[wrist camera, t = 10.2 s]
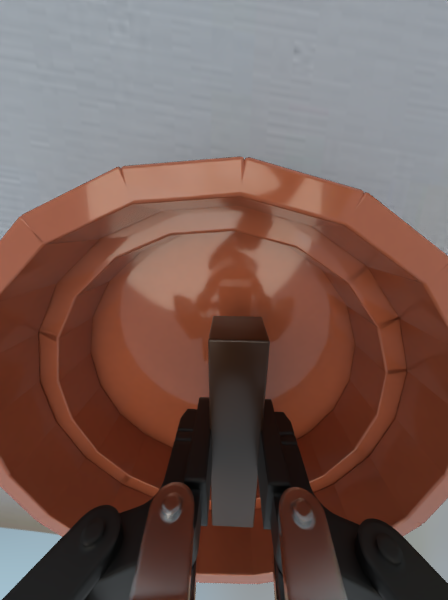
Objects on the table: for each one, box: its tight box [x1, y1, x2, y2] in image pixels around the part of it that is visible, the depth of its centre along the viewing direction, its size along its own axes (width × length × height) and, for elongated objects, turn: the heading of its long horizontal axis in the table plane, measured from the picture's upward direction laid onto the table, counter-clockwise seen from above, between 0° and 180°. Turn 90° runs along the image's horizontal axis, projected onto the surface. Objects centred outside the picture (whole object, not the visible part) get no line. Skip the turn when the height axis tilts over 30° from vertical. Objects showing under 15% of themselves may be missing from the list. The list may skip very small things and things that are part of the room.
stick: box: [208, 316, 270, 528], centre depth 9 cm, size 2×10×2 cm, turn 0°
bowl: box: [0, 156, 448, 584], centre depth 10 cm, size 18×18×6 cm
